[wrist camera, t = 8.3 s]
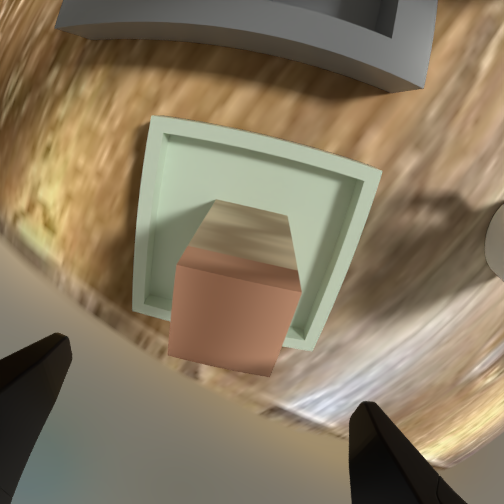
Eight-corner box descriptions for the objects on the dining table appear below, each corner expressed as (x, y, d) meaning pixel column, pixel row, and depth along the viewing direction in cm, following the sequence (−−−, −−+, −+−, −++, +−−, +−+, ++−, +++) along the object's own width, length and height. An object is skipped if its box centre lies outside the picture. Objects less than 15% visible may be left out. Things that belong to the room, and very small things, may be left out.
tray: (371, 165, 16) (382, 171, 14) (309, 334, 21) (312, 351, 19) (162, 115, 15) (151, 115, 14) (141, 296, 20) (132, 310, 19)
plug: (287, 215, 17) (301, 292, 10) (269, 277, 18) (269, 377, 11) (216, 199, 17) (176, 264, 9) (204, 263, 18) (167, 355, 11)
